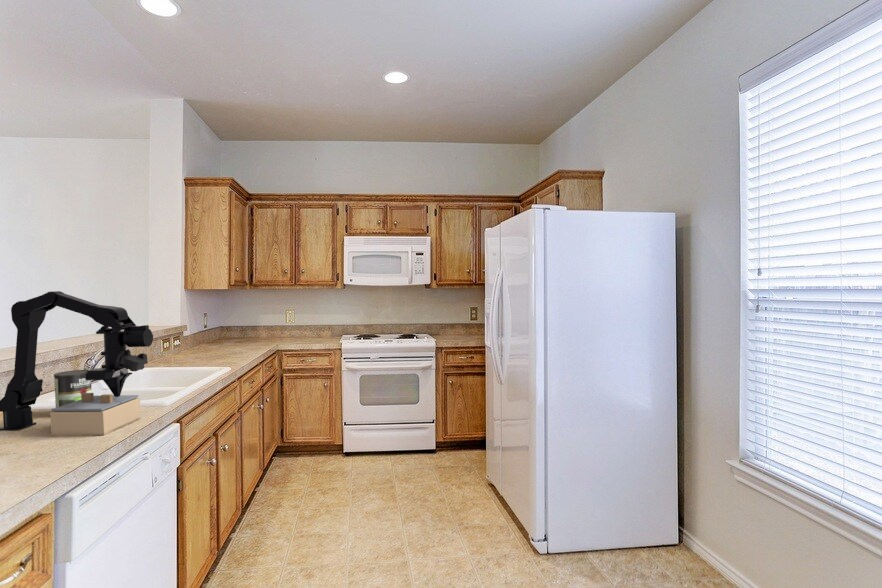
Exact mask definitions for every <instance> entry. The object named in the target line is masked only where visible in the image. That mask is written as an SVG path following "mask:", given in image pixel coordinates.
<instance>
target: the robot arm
mask: <svg viewBox="0 0 882 588" xmlns="http://www.w3.org/2000/svg"><path fill="white" fill-rule="evenodd" d="M56 307H59V308H62V309H66V310H68V311H71V312H75V313H77V314H81V315H84V316H87V317H89V318H91V319H92V320H93V321H95V322H96V323H98V324H99V325H101V327H100V328H99V329H98V330H96V331H95V334H96V335H103V349H104V350H103V351H101V352H100V355H101V356H104V364H101V367H100V368H99V367H98V368H92V369H87V370H88V371H87V372H86V373H85V380H91V381H103V382H104V383H105V384H106V386H107V387H108V389H109V390H110V391H111V393H112V394H113V395H114V396H115V397H119V396H120V395H122V391H123V388H124V384H125V382H126V381H127V380H126V379H127V378H129V377H130V376H131V375H132V374H133V372H138V371H140V370H141V371H142V370H144V369H145V365H146V364H148V363H149V362H148V361H149V360H148V355H147V353H144V352H142V353H139V354H137V355H136V354H135V355H133V354H131V349H127V347H128V348H144V347H145V348H147V347H151V346H152V344H153V342H154V334H153V332H152V330H151V329H150V327H149V326H150V325H148V324H145V325H137V324H136V323H135V322H134V321H133V319H132V318H131V317H130V316H129V314H128V312H127V309H125V308H124V307H120V306H114V305H105V304H104V305H102V304H97V303H95V302H91V301H90V300H89V301H88V300H85V299H83V298H79V297H77V296H73V295H70V294H68V293H64V292H63V291H60V290H55V291H47V292H45V293H43V294H42V295H38V296H36V297H32V298H29V299H27V300H19V301H16V302H15V303H14V304H12V306H11V307H10V314H11V321H12V322H13V324H14V326H15V327H16V331H17V332H16V342H15V343H16V344H15V345H16V346H15V357H14V368H13V369H14V372H13V375H12V377H11V379H10V380H9V381H8V383H7V386H6V388H5V392H4V396H3V397H2V398H1V399H0V412H1V413H2V418H3V419H2V420H3V421H2V422H3V423H2V424H3V426H2V427H0V431H20V430H23V429H25V428H28V427H31V426H34V425H36V424H37V422H35V421H34V420H33V411H32V406H33V405H35V404H36V402H37V398H39V397H40V396H41V392H42V393H43V392H44V391H43V382H44V380H43V379H42V378H39V379H38V377H37V375H36V363H37V361H36V360H37V349H38V348H37V346H38V336H39V335H38V333H39V329H40V327H41V325H42V324H43V323H44V322H45V318H46V315H47V312H50V311H51V310H54V309H55V308H56ZM129 371H130V372H129ZM33 421H34V422H33Z"/></svg>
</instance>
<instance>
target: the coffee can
mask: <svg viewBox="0 0 882 588" xmlns="http://www.w3.org/2000/svg"><path fill="white" fill-rule="evenodd" d="M88 370H89V369H74V370H67V371H60V372H56V373H54V374H53V378H54V381H53V382H54V397H55V401H54V402H55V408H57V407H60V406H63V405H66V404H69V403H72V402H75V401H78V400H81V394H82V393H93V391H92V380H85V373H86V372H87V371H88Z"/></svg>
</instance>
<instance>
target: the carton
mask: <svg viewBox="0 0 882 588" xmlns="http://www.w3.org/2000/svg"><path fill="white" fill-rule="evenodd" d="M49 414H50V429H51V430H50V431H51V432H50V433H51V436H52V437H57V436H58V437H59V436H60V437H61V436H63V437H64V436H67V437H68V436H69V437H71V436H73V437H75V436H76V437H78V436H79V437H80V436H84V437H85V436H92V437H93V436H106V435H108V434H111V433H113V432H115V431H117V430H119V429H122V428H125V427H126V426H128V425H130V424H133V423H135V422H137V421H140V420H141V419H142V418H141V398H140V397H137V398H135V399H132V400H129V401H127V402H124V403H121V404H118V405H116V406H113V407H110V408H108V409H105V410H102V411H52V410H51V411H50V413H49Z"/></svg>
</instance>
